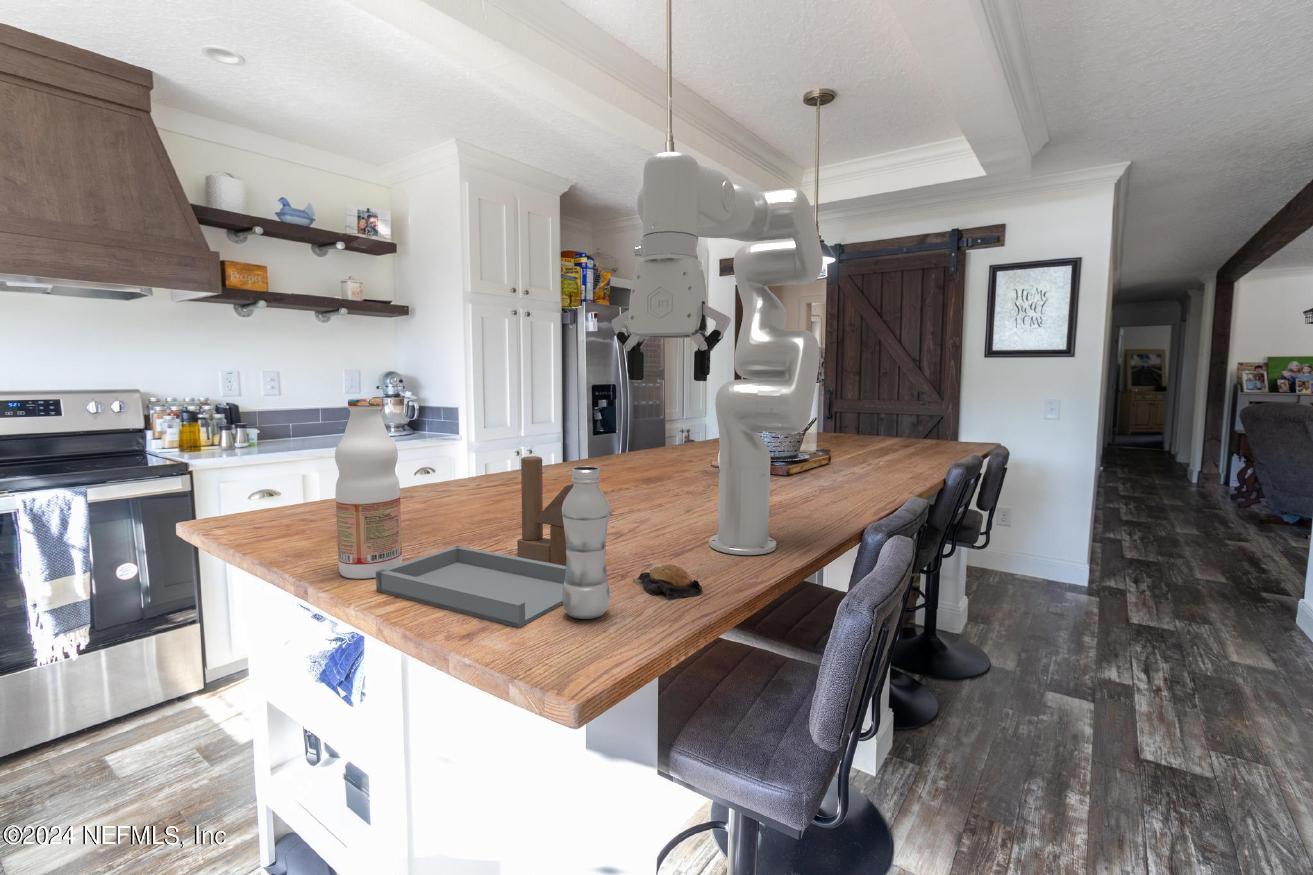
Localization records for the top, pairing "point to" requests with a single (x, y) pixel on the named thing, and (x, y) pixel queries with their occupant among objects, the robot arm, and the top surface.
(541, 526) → the toy block structure
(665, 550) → the top surface
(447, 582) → the tray
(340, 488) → the fruit juice
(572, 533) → the plastic bottle
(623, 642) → the top surface
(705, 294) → the robot arm
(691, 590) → the bread roll
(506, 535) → the top surface
